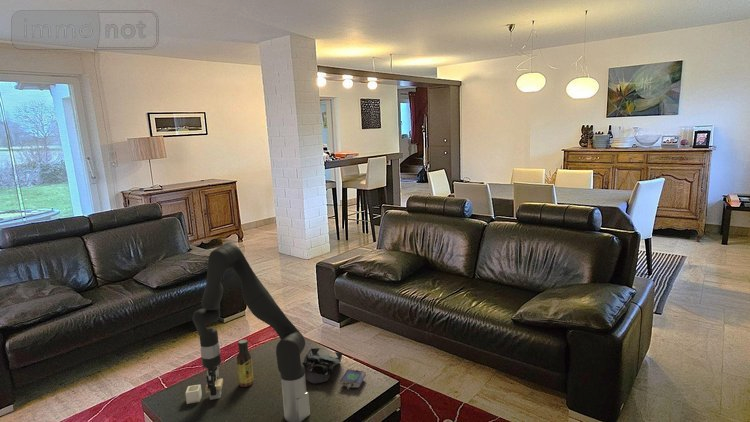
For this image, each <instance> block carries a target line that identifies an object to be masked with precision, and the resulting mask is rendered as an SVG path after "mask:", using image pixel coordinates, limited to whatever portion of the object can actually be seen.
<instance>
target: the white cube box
mask: <svg viewBox="0 0 750 422" xmlns="http://www.w3.org/2000/svg"><path fill="white" fill-rule="evenodd" d="M202 396H203V393H202V384H194V385H188V386H187V387H186V391H185V402H186V405H189V404H197V403H200V402H201V399H202Z"/></svg>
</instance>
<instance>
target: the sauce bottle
mask: <svg viewBox="0 0 750 422" xmlns="http://www.w3.org/2000/svg"><path fill="white" fill-rule="evenodd" d="M248 343H249V342H248V340H247V339H241V340H239V341H237V346H238V353H237V356H236V364H237V365H236V366H237V377H238V384H239V386H240V387H241V388H246V387H247V388H248V387H250V386H252V385H253V383H254V371H253V369H254V368H253V358H252V356H251V354H250V351H249V348H248V346H249V345H248Z"/></svg>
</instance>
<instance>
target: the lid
mask: <svg viewBox="0 0 750 422" xmlns="http://www.w3.org/2000/svg"><path fill="white" fill-rule="evenodd" d="M223 385H224V378H218V379H217V380H216V391H220V390H221V391H222V389H223ZM204 390H205V393H206V394H207V393H209V392H210V389H208V384H207V383H206V385H205V389H204Z"/></svg>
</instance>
